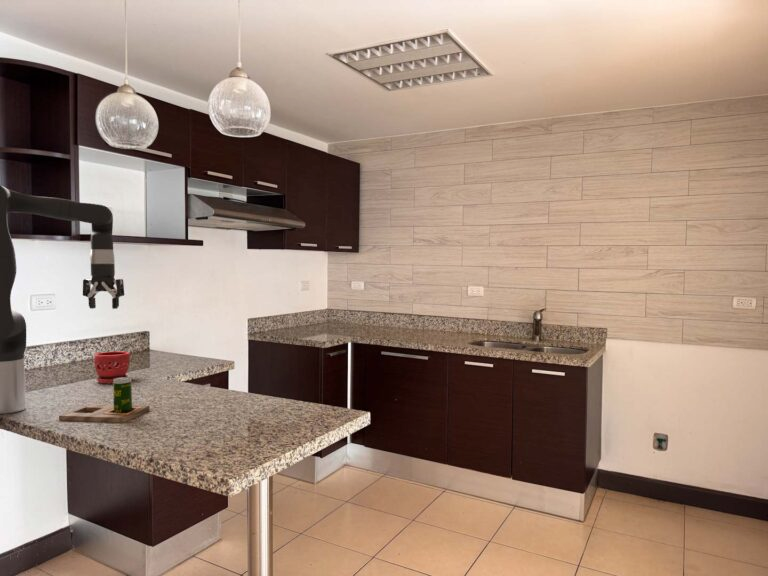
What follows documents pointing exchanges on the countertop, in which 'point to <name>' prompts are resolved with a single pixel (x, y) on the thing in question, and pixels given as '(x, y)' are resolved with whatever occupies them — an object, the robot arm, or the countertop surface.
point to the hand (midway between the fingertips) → (104, 308)
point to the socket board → (102, 413)
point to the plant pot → (111, 365)
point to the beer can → (122, 395)
